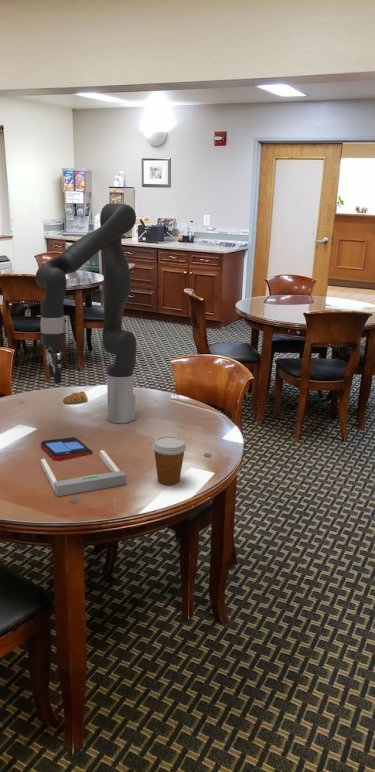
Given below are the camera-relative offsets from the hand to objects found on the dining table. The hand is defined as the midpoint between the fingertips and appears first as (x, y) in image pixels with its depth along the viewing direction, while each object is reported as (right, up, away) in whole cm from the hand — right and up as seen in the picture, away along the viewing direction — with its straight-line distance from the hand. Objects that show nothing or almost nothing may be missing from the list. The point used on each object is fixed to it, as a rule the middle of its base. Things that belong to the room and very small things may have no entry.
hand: (55, 379), depth 195 cm
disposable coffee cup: (+38, -29, -23) cm, 53 cm away
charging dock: (+12, -28, -21) cm, 37 cm away
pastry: (-1, -9, +40) cm, 41 cm away
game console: (+5, -23, -5) cm, 24 cm away
